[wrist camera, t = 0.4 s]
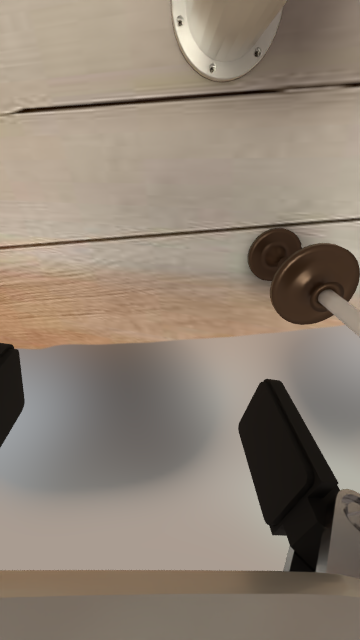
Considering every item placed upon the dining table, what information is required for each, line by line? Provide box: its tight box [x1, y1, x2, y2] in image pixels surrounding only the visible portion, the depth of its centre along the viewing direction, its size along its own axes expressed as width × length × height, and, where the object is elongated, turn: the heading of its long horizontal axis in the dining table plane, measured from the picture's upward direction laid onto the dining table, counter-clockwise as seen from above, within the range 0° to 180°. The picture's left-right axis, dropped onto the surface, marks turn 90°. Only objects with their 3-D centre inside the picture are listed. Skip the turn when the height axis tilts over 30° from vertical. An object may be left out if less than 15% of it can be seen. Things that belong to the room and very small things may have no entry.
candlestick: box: [248, 228, 360, 337], centre depth 29 cm, size 11×11×35 cm
